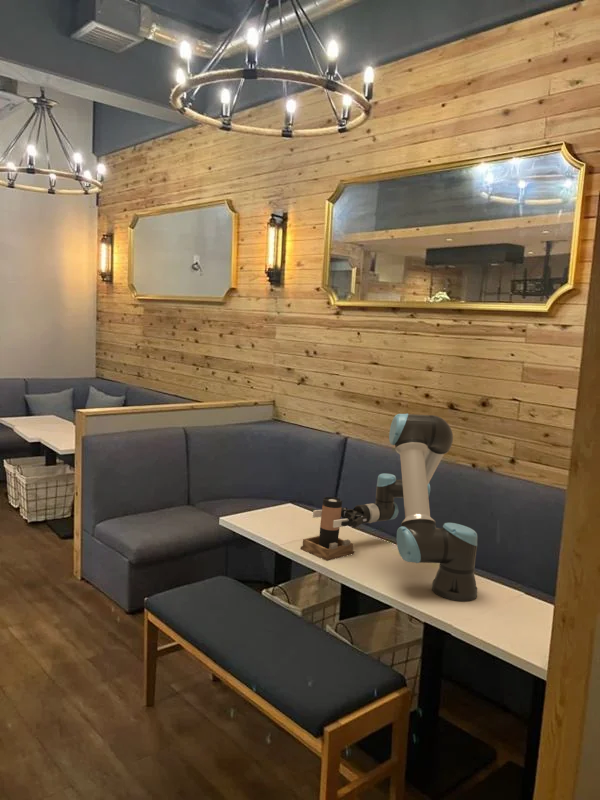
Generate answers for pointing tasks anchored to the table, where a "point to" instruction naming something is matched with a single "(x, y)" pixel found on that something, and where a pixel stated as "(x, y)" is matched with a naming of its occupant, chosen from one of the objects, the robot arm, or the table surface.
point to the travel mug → (329, 521)
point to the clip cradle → (327, 554)
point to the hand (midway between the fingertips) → (323, 519)
